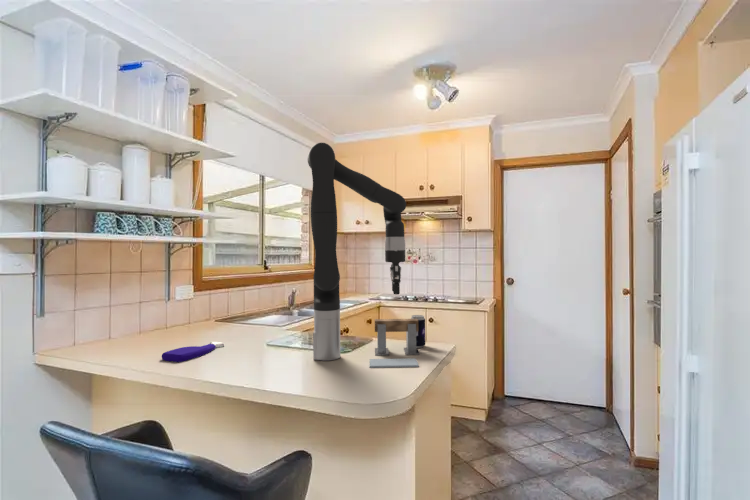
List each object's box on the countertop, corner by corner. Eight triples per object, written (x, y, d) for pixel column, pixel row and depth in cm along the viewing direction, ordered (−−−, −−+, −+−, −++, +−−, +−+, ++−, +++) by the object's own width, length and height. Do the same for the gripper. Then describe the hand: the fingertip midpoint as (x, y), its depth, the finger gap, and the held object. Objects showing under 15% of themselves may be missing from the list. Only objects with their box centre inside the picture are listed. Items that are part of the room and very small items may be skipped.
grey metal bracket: (375, 355, 145) (374, 325, 145) (374, 349, 154) (374, 320, 154) (388, 355, 145) (388, 324, 145) (387, 349, 154) (387, 320, 154)
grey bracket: (405, 355, 146) (405, 324, 145) (403, 349, 154) (403, 320, 154) (419, 354, 146) (419, 324, 146) (416, 348, 154) (416, 320, 154)
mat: (369, 367, 131) (369, 365, 131) (369, 360, 139) (369, 359, 139) (418, 367, 131) (418, 365, 131) (415, 360, 139) (415, 358, 139)
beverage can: (424, 348, 154) (424, 317, 154) (410, 348, 156) (409, 317, 156) (425, 345, 160) (425, 314, 160) (411, 344, 161) (411, 314, 161)
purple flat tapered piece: (182, 355, 139) (230, 340, 162) (158, 352, 142) (209, 338, 165) (182, 364, 139) (230, 348, 162) (158, 361, 142) (209, 346, 165)
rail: (374, 332, 148) (374, 321, 148) (374, 329, 152) (374, 319, 152) (418, 331, 148) (418, 320, 148) (417, 329, 152) (417, 318, 152)
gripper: (384, 249, 157) (385, 291, 157) (385, 249, 142) (386, 295, 142) (403, 249, 157) (404, 290, 157) (407, 249, 142) (407, 295, 142)
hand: (395, 292), depth 150 cm, fingers open, 8 cm apart
